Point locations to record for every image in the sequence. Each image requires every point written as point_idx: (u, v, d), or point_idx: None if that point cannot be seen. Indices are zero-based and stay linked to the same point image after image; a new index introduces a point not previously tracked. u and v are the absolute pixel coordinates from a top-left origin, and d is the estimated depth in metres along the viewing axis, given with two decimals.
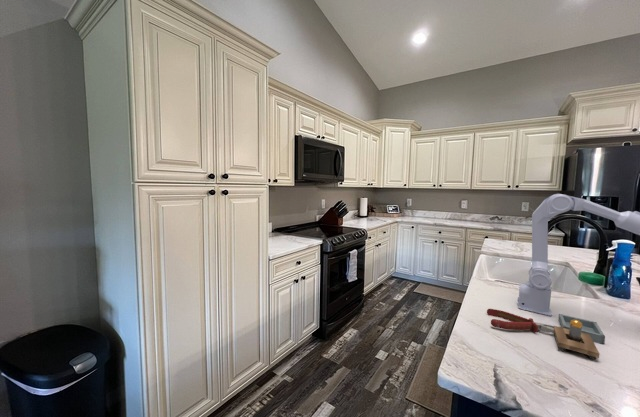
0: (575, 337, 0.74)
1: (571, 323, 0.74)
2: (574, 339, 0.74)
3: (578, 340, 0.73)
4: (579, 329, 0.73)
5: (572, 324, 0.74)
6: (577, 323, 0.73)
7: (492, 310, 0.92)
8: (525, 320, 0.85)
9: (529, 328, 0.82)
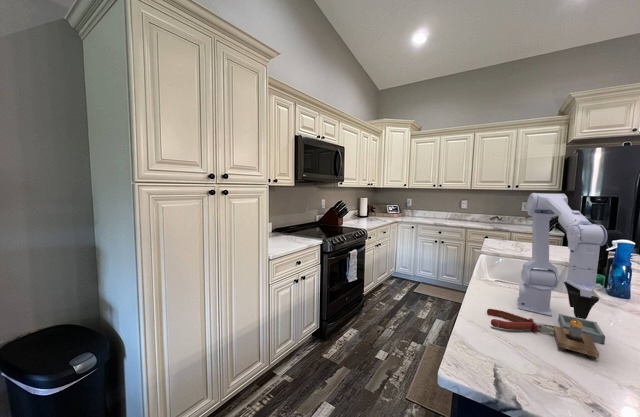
0: (575, 337, 0.74)
1: (571, 323, 0.74)
2: (574, 339, 0.74)
3: (578, 340, 0.73)
4: (579, 329, 0.73)
5: (572, 324, 0.74)
6: (577, 323, 0.73)
7: (492, 310, 0.92)
8: (525, 320, 0.85)
9: (529, 328, 0.82)
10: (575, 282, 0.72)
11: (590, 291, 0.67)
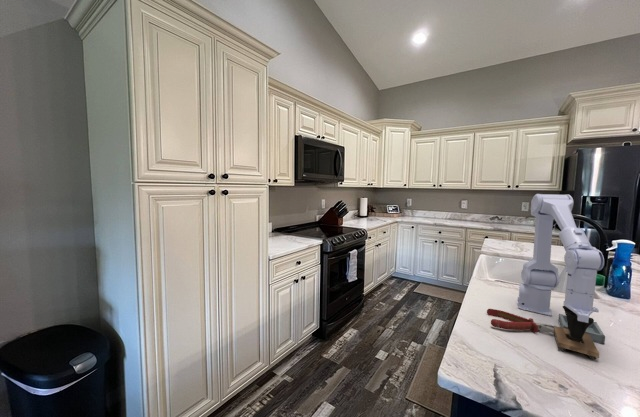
0: None
1: None
2: (574, 339, 0.74)
3: (578, 340, 0.73)
4: None
5: None
6: None
7: (492, 310, 0.92)
8: (525, 320, 0.85)
9: (529, 328, 0.82)
10: (572, 306, 0.73)
11: (587, 316, 0.68)
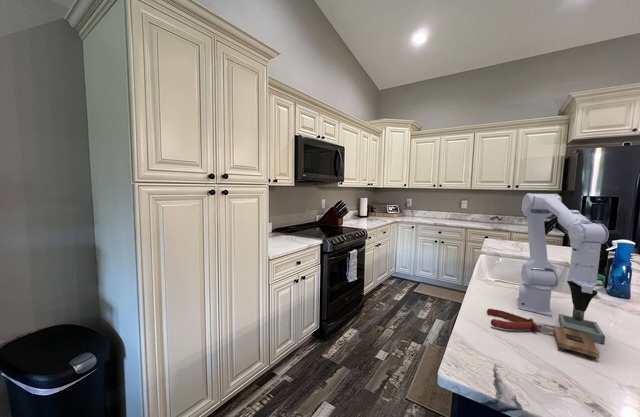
0: None
1: None
2: (578, 312, 0.76)
3: (582, 312, 0.76)
4: None
5: None
6: None
7: (492, 310, 0.92)
8: (525, 320, 0.85)
9: (529, 328, 0.82)
10: (577, 279, 0.75)
11: (591, 287, 0.70)
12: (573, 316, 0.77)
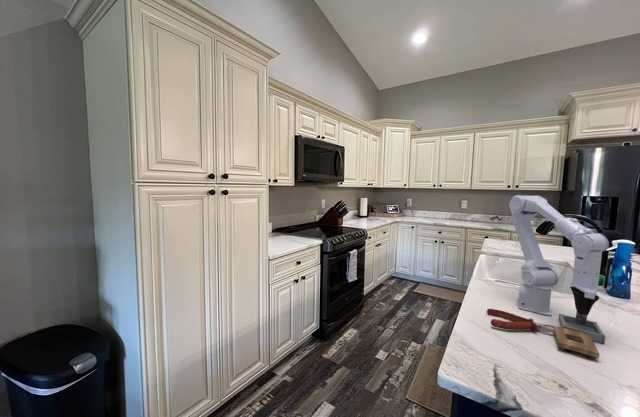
0: None
1: None
2: (581, 316, 0.81)
3: (585, 316, 0.81)
4: None
5: None
6: None
7: (492, 310, 0.92)
8: (525, 320, 0.85)
9: (529, 328, 0.82)
10: (579, 285, 0.80)
11: (593, 293, 0.75)
12: (576, 320, 0.82)
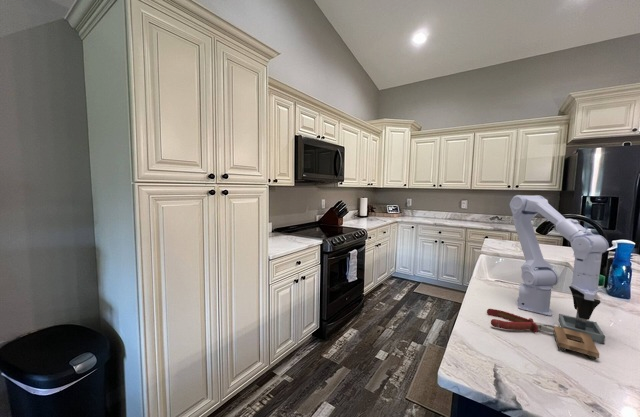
0: (581, 321, 0.81)
1: None
2: (580, 323, 0.81)
3: (584, 324, 0.81)
4: None
5: None
6: None
7: (492, 310, 0.92)
8: (525, 320, 0.85)
9: (529, 328, 0.82)
10: (579, 287, 0.80)
11: (593, 295, 0.75)
12: (575, 327, 0.83)
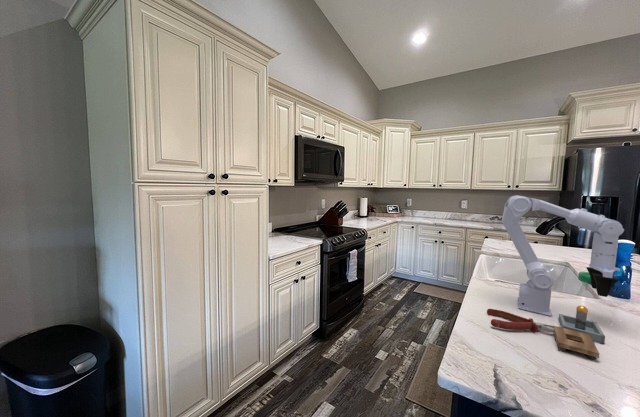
0: (581, 321, 0.81)
1: (577, 309, 0.82)
2: (580, 323, 0.82)
3: (584, 324, 0.81)
4: (585, 314, 0.81)
5: (578, 310, 0.82)
6: (583, 308, 0.81)
7: (492, 310, 0.92)
8: (525, 320, 0.85)
9: (529, 328, 0.82)
10: (598, 266, 0.86)
11: (611, 273, 0.81)
12: (575, 327, 0.83)
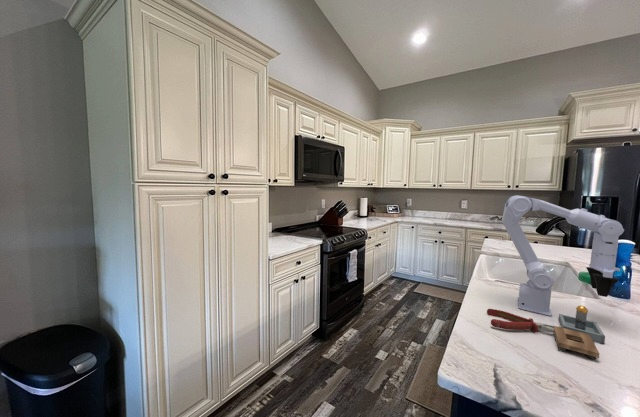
0: (581, 321, 0.81)
1: (577, 309, 0.82)
2: (580, 323, 0.82)
3: (584, 324, 0.81)
4: (585, 314, 0.81)
5: (578, 310, 0.82)
6: (583, 308, 0.81)
7: (492, 310, 0.92)
8: (525, 320, 0.85)
9: (529, 328, 0.82)
10: (598, 266, 0.87)
11: (611, 273, 0.81)
12: (575, 327, 0.83)
